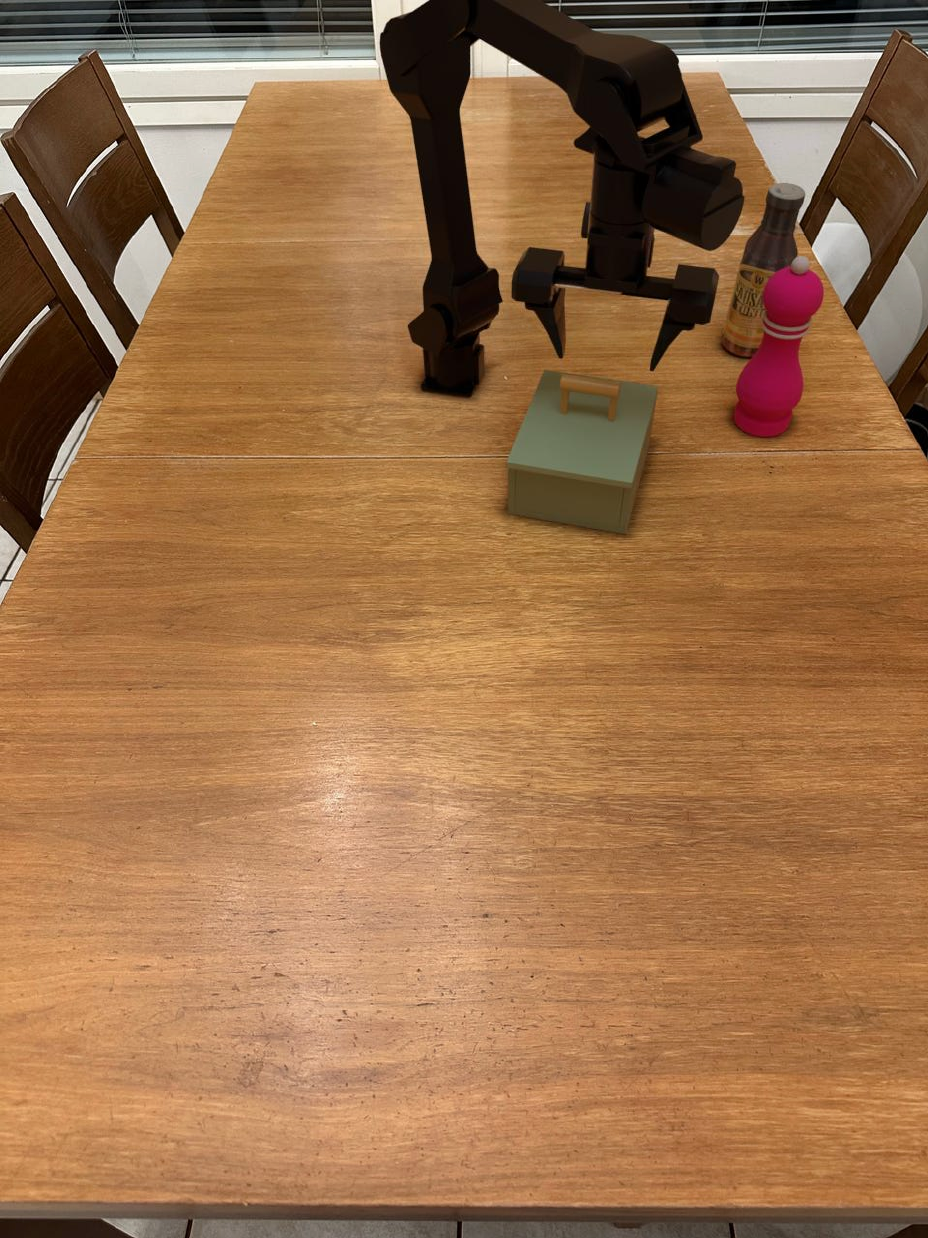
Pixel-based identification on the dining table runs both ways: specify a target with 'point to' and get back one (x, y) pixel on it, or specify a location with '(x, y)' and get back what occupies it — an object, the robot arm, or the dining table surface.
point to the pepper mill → (778, 351)
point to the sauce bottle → (762, 268)
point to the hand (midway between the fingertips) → (606, 362)
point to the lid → (584, 429)
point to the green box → (575, 497)
